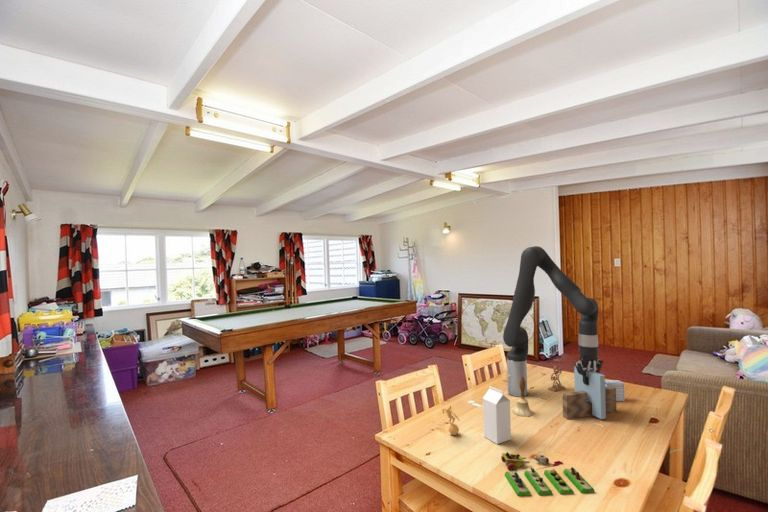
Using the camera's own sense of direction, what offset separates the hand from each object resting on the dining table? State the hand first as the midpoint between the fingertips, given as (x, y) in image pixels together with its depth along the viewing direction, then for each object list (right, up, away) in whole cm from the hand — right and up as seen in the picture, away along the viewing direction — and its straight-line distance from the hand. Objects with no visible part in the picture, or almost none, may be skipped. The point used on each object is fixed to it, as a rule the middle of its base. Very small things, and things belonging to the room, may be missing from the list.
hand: (589, 383), depth 160 cm
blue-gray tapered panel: (0, -12, 0) cm, 12 cm away
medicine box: (+20, -13, +15) cm, 28 cm away
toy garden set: (-39, -15, -43) cm, 60 cm away
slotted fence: (0, -13, 0) cm, 13 cm away
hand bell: (-28, -14, +3) cm, 31 cm away
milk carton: (-46, -15, -19) cm, 52 cm away
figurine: (-63, -15, -16) cm, 66 cm away
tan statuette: (0, -13, +30) cm, 33 cm away
